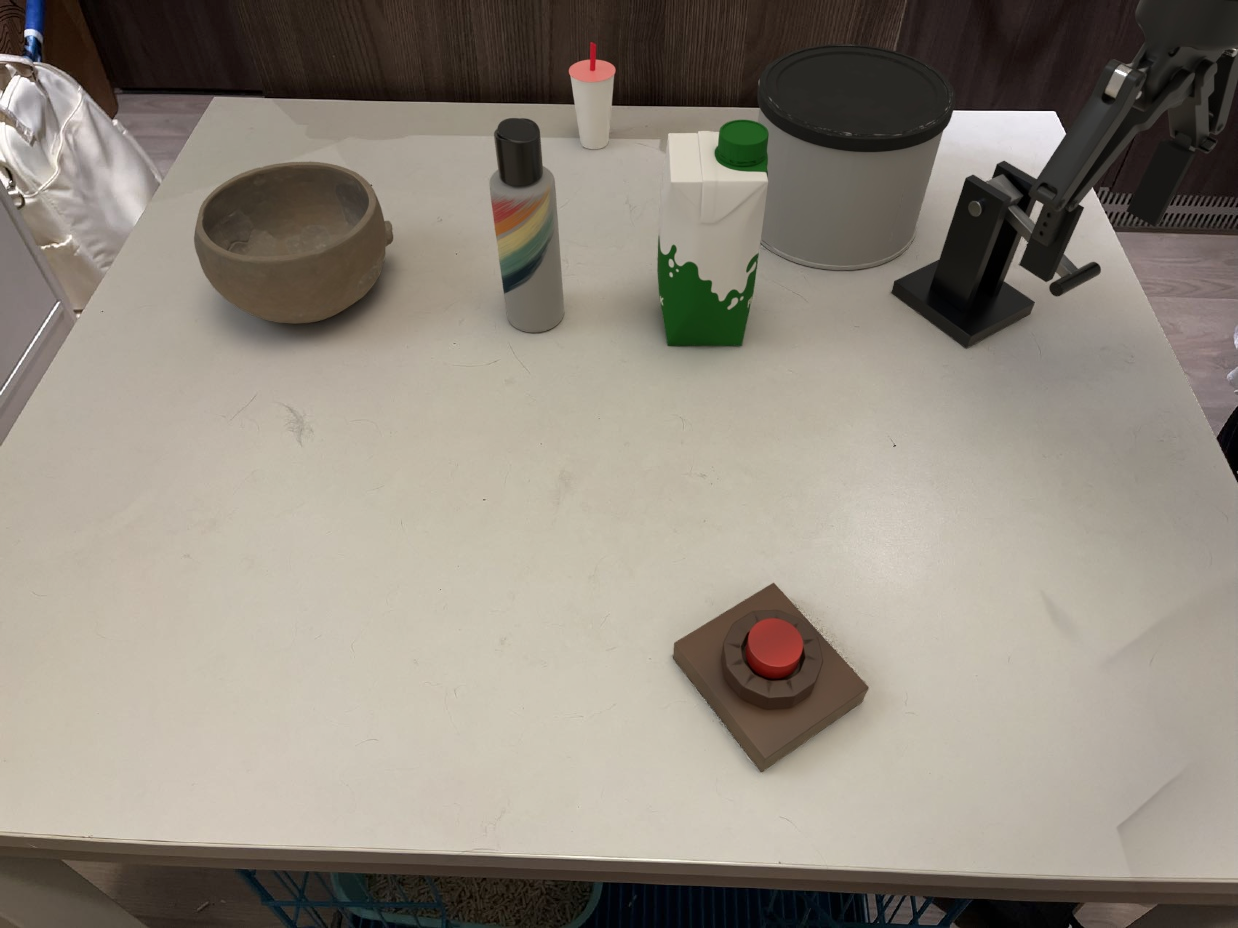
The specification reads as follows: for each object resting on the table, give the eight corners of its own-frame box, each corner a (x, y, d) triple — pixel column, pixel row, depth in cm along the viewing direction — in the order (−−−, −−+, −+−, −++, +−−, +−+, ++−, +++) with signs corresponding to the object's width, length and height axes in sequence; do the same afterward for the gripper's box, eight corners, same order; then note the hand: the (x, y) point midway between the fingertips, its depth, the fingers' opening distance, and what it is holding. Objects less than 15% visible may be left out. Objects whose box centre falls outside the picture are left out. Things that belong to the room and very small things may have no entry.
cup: (616, 130, 110) (615, 32, 101) (616, 153, 107) (615, 54, 98) (572, 130, 110) (567, 32, 101) (572, 154, 107) (566, 54, 98)
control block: (862, 701, 61) (875, 674, 58) (761, 772, 58) (768, 748, 55) (770, 597, 67) (776, 568, 64) (672, 657, 64) (674, 629, 61)
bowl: (412, 239, 96) (394, 154, 89) (379, 351, 85) (354, 265, 77) (255, 237, 97) (222, 153, 89) (200, 348, 85) (158, 263, 78)
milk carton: (752, 352, 84) (779, 161, 69) (656, 352, 84) (662, 161, 69) (744, 293, 90) (768, 104, 75) (654, 293, 90) (660, 105, 75)
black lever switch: (1030, 314, 88) (1085, 190, 77) (966, 348, 84) (1014, 225, 74) (953, 261, 93) (995, 140, 82) (890, 292, 90) (925, 170, 79)
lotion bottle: (526, 290, 91) (505, 102, 75) (575, 306, 89) (563, 117, 74) (496, 323, 87) (467, 133, 72) (545, 341, 86) (527, 150, 70)
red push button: (810, 661, 60) (814, 648, 58) (768, 689, 58) (771, 676, 57) (775, 622, 61) (779, 608, 60) (734, 647, 60) (737, 635, 59)
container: (869, 295, 90) (905, 159, 78) (711, 230, 97) (722, 97, 85) (945, 207, 99) (986, 75, 88) (796, 154, 107) (816, 26, 95)
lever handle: (1091, 283, 78) (1108, 265, 76) (1053, 303, 76) (1069, 286, 74) (999, 188, 82) (1013, 168, 80) (961, 205, 80) (974, 186, 78)
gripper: (1275, -89, 64) (1145, 177, 80) (1044, -8, 55) (950, 272, 71) (1382, -56, 60) (1222, 217, 76) (1150, 36, 51) (1025, 323, 67)
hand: (1090, 244), depth 74 cm, fingers open, 13 cm apart
